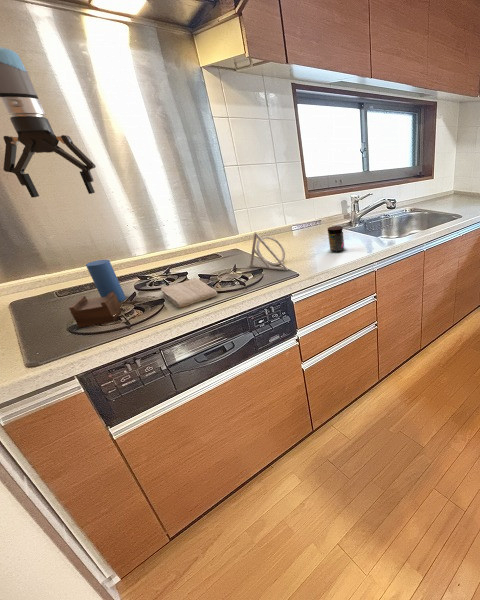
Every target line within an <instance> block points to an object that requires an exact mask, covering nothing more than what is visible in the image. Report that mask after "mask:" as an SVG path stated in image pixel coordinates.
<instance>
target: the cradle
mask: <svg viewBox="0 0 480 600" xmlns="http://www.w3.org/2000/svg"><path fill="white" fill-rule="evenodd" d="M120 307H121V308H120ZM119 308H120V309H119ZM68 309H69V311H70V314H71V315H72V317H73V319H74V322H75V323H76V325H77V326H78V328H79V329H80V328H84V327H90V326H95V325H102V324H107V323H113V322H115V321H116V320H117V319H118V317H119V315H120V314H121V313H122V311H123V307H122V305H121V302H119V301H118V298H117V296H116V295H115V293H114V291H113V292H109V294H108V295H107V296H106V297H101V296H100V297H94V298H88V299H87V297H86V295H81V296H79V298H77V299H76V300H75V301H74V302H73V303H72V304H71V305H70V306H69V307H68ZM118 310H119V311H118ZM117 311H118V312H117ZM115 314H116V315H115ZM113 315H115V316H114V318H113Z"/></svg>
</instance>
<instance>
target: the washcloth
mask: <svg viewBox="0 0 480 600" xmlns="http://www.w3.org/2000/svg"><path fill="white" fill-rule="evenodd" d="M160 291H161V293H162V294H163V297H164V298H165V299H166V300H168V301H169V302H170V303H172V304H173V306H175V307H177V308H184V307H187V306H190V305H193V304H195V303H199V302H202V301H203V302H204V301H206V300H210V299H212V298H215V297H217V296H218V295H219V293H218V292H217V291H216V289H214V288H213V287H211V286H209V285H208V284H207V283H205V282H203V281H202V280H200V279H199V278H190V279H189V280H185V281H183V282H177V283H172V284H169V285H166V286H162V287H161V288H160Z"/></svg>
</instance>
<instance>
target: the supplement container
mask: <svg viewBox="0 0 480 600" xmlns="http://www.w3.org/2000/svg"><path fill="white" fill-rule="evenodd" d="M327 235H328V236H327V238H328V245H329V251H330V252H331V253H335V254H337V253H342V252H344V251H345V249H346V247H345V236H344V228H343V226H341V225H339V226H337V225H336V226H335V225H334V226H329V227H327Z"/></svg>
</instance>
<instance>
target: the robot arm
mask: <svg viewBox="0 0 480 600" xmlns="http://www.w3.org/2000/svg"><path fill="white" fill-rule="evenodd" d="M0 101H1V104H2V105H3V108H4V110H5V111H6V113H7V115H10V118H9V120H10V122H11V124H12V127H13V128H14V131H15V132H16V134H17V136H12V135H4V136H3V140H4V144H5V150H4V158H3V171H4V172H6V173H11V174H14V175H15V176H16V178H17V180H18V182H19V183H20V185H21V186H23V187H24V186H25V187H26V190H27V191H28V193H29V195H30V197H31V198H38V197H40V194H39V192H38V190H37V188H36V186H35V185H34V182H33V180H32V179H31V176H30V174H29V173H26V172H25V171H26V169H27V167H28V165H29V163H30V162H31V160H32V158H33V156H34V155H35V153H36V154H43V153H47V154H48V153H50V154H51V153H55V154H56V155H59V156H60V157H62V158H63V159H65V160H66V161H68V162H69V163H70V164H72V165H74V166H76V167H77V168H78V169H80V170H81V171H79V175H80V176H81V179H82V181H83V184H84V186H85V188H86V190H87V193H88V195H91V194H95V193H96V191H95V188H94V187H93V184H92V183H93V182H94V178H93V175H92V173H91V170H93V169H96V167H97V166H96V164H95V163H94V162H93V161H92V160H91V159H90V158H88V156H87V155H86V154H85V153H83V151H81V149H80V148H79V147H78V146H77V145H76V144H75V143H74V142H73V140H72V138H71V137H70V136H69V135H66V134H62V135H60V136H59V135H58V136H56V134H55V133H54V130H53V127H52V125H51V123H50V121H49V119H48V118H47V117H45V116H46V112H45V110H44V108H43V106H42V103H41V100H40V99H39V96H38V94H37V92H36V90H35V87H34V85H33V83H32V80H31V78H30V75H29V72H28V70H27V69H26V67H25V65H24V63H23V62H22V59H21V57H20V55H19V54H18V53H17V52H16V51H14V50H12V49H10V48H6V47H1V46H0ZM60 142H61V143H62V145H63V144H64V145H65V146H66V147H67V148H68V149H69V150H70V151H71V152H72V153H73V154H74V155H75V156H76V157H77V158H78V159H77V158H76V157H74V156H73V155H71V154H70V153H69V152H68V151H66V150H65V149H63V147H60V146H59V143H60ZM19 143H20V144H22V145H23V146H24V147H23V150H22V153H21V155H20V157H19V159H18V160H17V159H16V158H17V150H18V145H19ZM16 160H17V163H16Z"/></svg>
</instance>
